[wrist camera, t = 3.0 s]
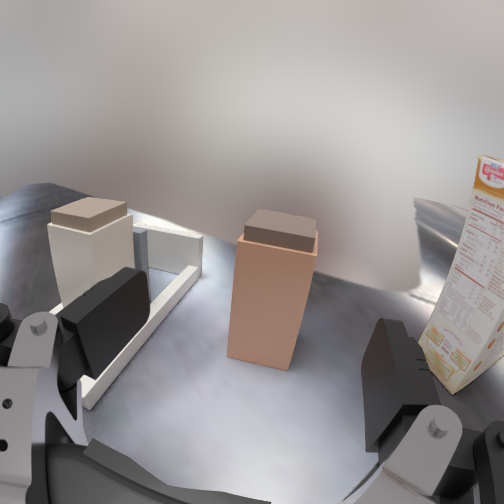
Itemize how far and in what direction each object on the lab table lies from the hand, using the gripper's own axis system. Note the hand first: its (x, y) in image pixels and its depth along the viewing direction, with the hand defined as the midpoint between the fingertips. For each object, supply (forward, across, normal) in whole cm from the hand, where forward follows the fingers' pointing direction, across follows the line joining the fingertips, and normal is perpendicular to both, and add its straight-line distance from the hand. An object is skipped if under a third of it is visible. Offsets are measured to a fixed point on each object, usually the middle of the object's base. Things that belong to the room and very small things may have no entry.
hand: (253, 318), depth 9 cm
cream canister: (+8, +15, +11) cm, 20 cm away
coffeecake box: (+14, -22, +12) cm, 29 cm away
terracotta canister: (+11, +1, +11) cm, 16 cm away
